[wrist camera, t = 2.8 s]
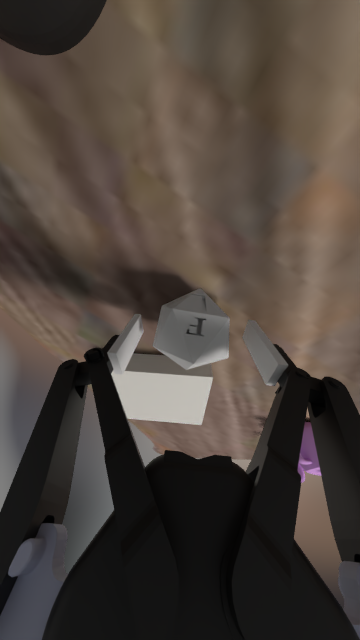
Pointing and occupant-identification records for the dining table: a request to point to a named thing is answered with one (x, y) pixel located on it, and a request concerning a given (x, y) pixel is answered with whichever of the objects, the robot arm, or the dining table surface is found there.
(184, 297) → the die
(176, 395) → the plinth
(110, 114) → the dining table surface
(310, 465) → the teapot
